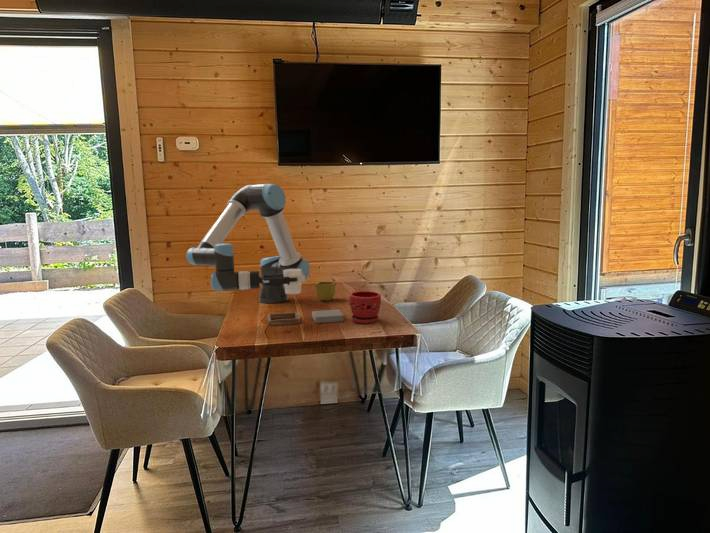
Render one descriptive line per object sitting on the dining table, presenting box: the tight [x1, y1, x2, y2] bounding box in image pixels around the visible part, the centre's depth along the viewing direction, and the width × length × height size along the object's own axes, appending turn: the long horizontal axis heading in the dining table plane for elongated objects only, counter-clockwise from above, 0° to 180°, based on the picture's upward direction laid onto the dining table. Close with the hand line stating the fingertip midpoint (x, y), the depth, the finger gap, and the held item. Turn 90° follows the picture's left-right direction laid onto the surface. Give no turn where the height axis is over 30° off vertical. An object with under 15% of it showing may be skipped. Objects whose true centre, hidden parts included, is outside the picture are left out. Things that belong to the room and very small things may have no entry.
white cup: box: [283, 269, 302, 295], centre depth 205 cm, size 8×8×10 cm
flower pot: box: [315, 281, 337, 301], centre depth 251 cm, size 9×9×9 cm
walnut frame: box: [267, 311, 301, 327], centre depth 208 cm, size 13×13×2 cm
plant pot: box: [349, 290, 382, 324], centre depth 204 cm, size 13×13×12 cm
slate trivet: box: [311, 309, 345, 324], centre depth 210 cm, size 12×12×2 cm
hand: (304, 277), depth 206 cm, fingers closed on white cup, 7 cm apart
